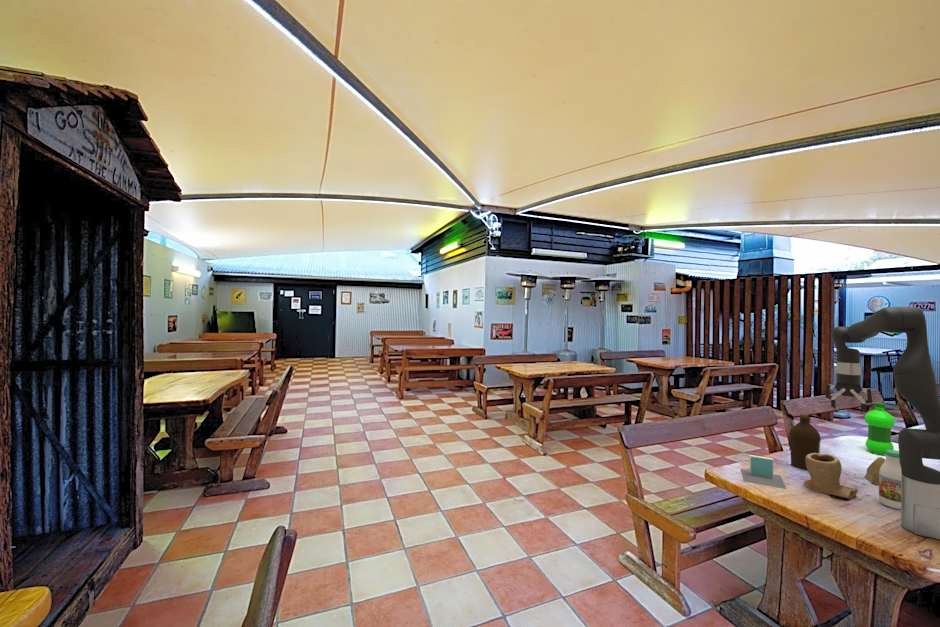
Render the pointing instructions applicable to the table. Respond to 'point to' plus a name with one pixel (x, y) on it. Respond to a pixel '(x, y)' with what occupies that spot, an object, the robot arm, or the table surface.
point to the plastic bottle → (879, 429)
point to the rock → (874, 470)
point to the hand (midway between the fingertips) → (848, 410)
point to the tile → (761, 466)
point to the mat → (763, 479)
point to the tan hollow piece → (826, 475)
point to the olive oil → (803, 441)
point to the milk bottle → (890, 480)
